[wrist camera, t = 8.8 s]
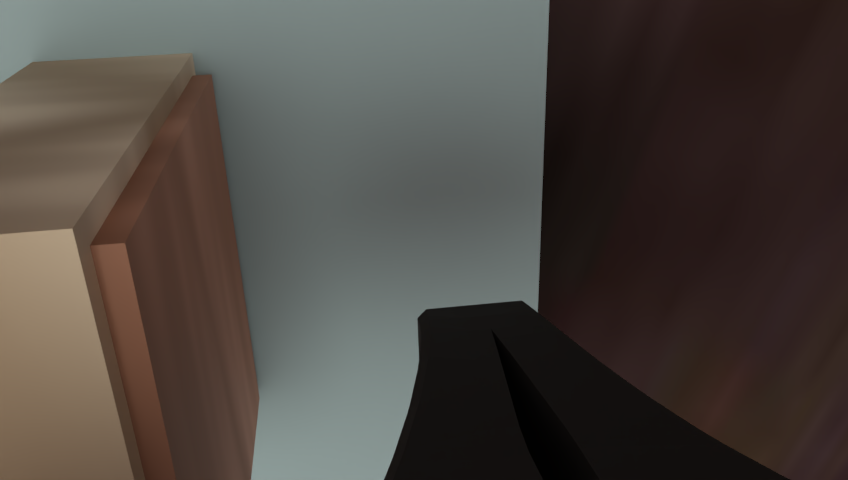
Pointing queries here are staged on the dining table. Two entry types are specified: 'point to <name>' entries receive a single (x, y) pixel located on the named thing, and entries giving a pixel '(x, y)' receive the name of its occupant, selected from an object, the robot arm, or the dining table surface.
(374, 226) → the mat
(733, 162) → the dining table surface
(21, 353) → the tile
